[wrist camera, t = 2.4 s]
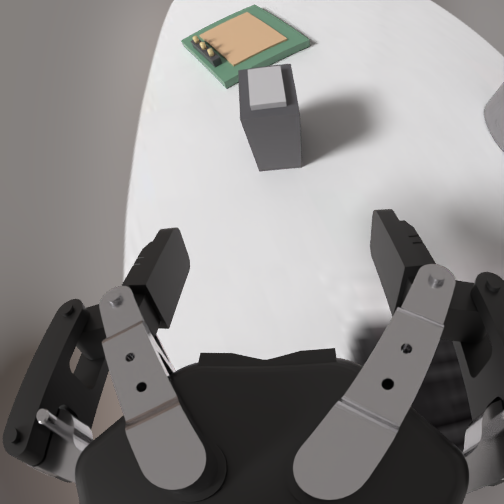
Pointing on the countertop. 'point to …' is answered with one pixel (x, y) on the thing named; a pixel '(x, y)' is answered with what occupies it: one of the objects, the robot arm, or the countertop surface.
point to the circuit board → (244, 43)
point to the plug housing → (271, 116)
